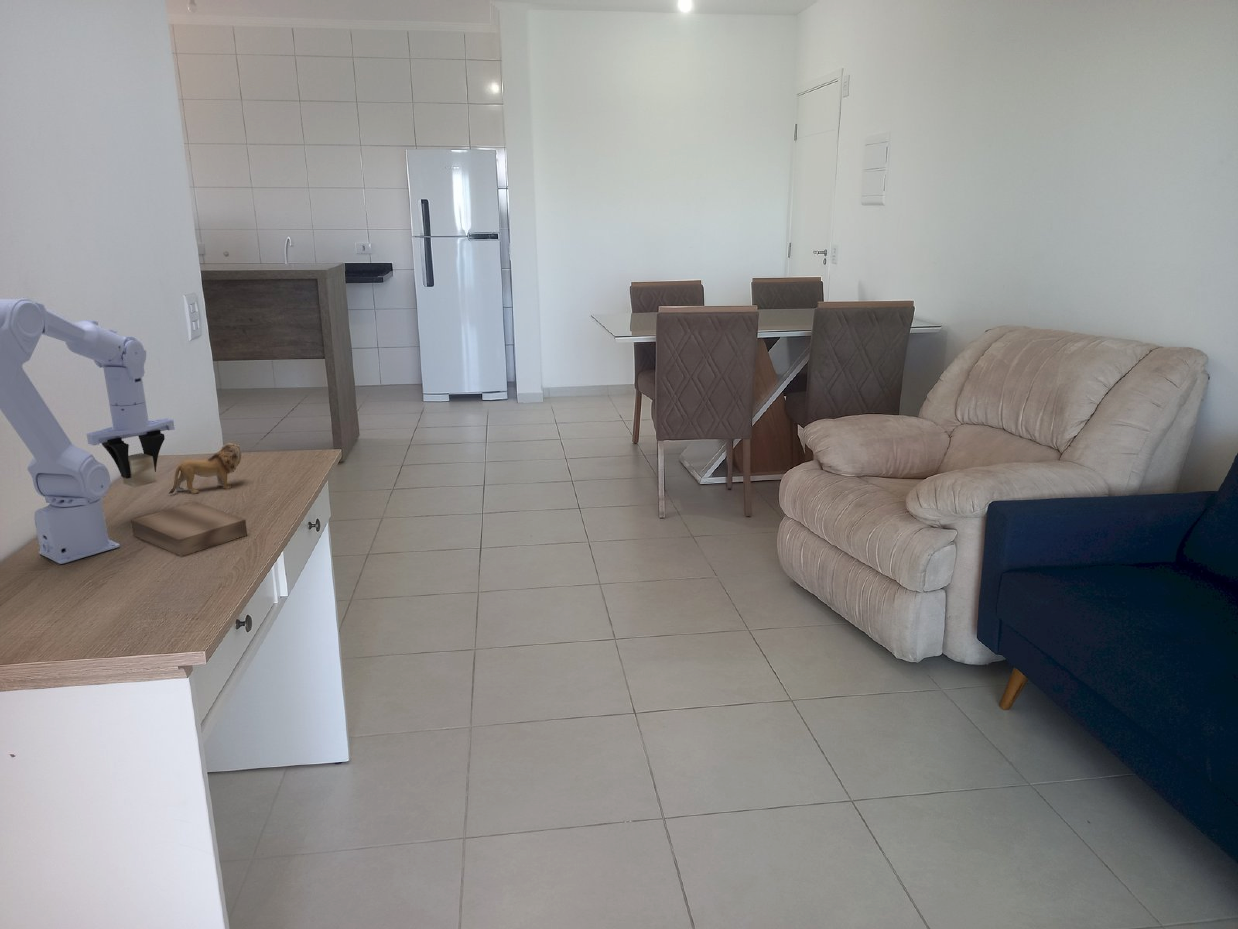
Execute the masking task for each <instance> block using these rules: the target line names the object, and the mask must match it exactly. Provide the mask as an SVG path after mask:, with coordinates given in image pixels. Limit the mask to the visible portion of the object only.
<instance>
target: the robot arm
mask: <svg viewBox="0 0 1238 929" xmlns="http://www.w3.org/2000/svg"><path fill="white" fill-rule="evenodd" d="M42 335H44V336H46V337H49V338H52V339H55V340H59V341H62V342H65V344H66V347H67V348H68V350H69V351H70V352H72V353H74V354H77V355H79V356H82V357H84V358H87V359H89V360H92V361H93V362H94V364H95V365H96V366H97V367H99V368H100V369H101V368H103V369H102V370H103V374H104V380H105V384H106V385H105V386H106V392H107V397H108V404H109V411H110V416H111V424H112V426H111V427H105V428H102V429H100V430H96V431H92V432H87V433H86V438H87V444H89V445H91V446H97V445H100V444H101V446H102V447H103V448H104V449H105V450H106V451H107V453H108V454H109V455H110V457H111V458H112V459H113V461H114V463H115V465H116V467H117V468H118V471H119V473H120V476H121V478H122V479H123V478H126V479H128V478H131V472H130V466H129V460H128V456H129V448H130V447H129V446H130V444H129V443H126V442H125V441H124V439H128V438H134V437H138V439H139V443H140V446H141V448H142V451H143V452H142V453H143V454H147V455H150V456H153V462H154V469H155V473H156V472H157V466H158V458H159V455H160V454H159V453H160V450H161V448H162V445H163V444H164V441H165V433H162V432H163V431H173V430H176V429H175V422H174V419H171V418H168V417H167V418H163V419H153V420H149V416H148V408H147V401H146V396H145V390H144V384H143V383H144V382H143V377H145V364H146V360H147V350H146V349H145V348H144V345H143V344H142V342H140V341H139V340H138V339H137V338H135V337H133V336H122V335H120V334H118V331H116V330H114V329H107V328H104V327H102V326H101V325H99V322H98V321H96V320H94V319H84V320H80V321H76V322H73V321H72V320H69V319H68V318H66V317H63V316H62V315H60V314H59V313H55V312H54V311H52V310H50V309H48V308H46V307H45V304H43V303H41V302H38V301H37V302H36V301H34V300H32V299H30V298H24V297H23V298H17V299H16V298H15V299H13V298H0V411H1V413H2V414H3V416H4V417H5V418H6V419H7V421H8V423H9V424H10V425H11V427H12V429H13V430H14V431H15V432H16V433H17V435H18V437H19V438H20V439H21V441H22V442H23V443H24V445H25V446H26V448H27V449H28V451H29V452H30V453H31V455H32V456H33V457H32V459H31V460H30V462H29V464H28V466H27V468H26V469H27V471H28V473H29V474H30V476H31V478H32V482H33V487H34V490H35V492H37V494H38V495H39V496H41V497H44V499H45V503H46V504H48V505H46V506H45V507H42V508H39V509H36V511H35V512H34V516H33V517H34V526H35V529H36V533H37V540H38V543H39V549H40V550H39V554H40V555H42V556H44V557H46V558H48V559H49V560H52V561H53V562H55V563H56V564H60V565H61V564H62V565H63V564H67V563H69V562H73V561H77V560H80V559H83V558H87V557H90V556H93V555H96V554H100V553H103V552H106V551H110V550H113V549H116V548H120V546H121V544H120V543H119V542H115V541H113V540H111V539H109V535H108V528H107V524H106V518H105V512H104V507H103V501H102V500H103V498H105V497H106V494H107V493H108V490H109V488H110V485H111V475H110V472H109V469H108V468H107V466H106V465H105V464H104V463H102V462H100V461H98V460H97V459H96V457H94V455H93V454H92V453H90V452H89V451H87V450H85V449H83V448H81V447H79V446H77V445H75V444H73V443H72V441H71V440H70V438H69V436H68V435H67V434H66V432H65V430H64V429H63V428H62V425H61V424H60V423H59V422H58V420H57V419H56V417H55V415H54V414H53V413H52V411H51V410H50V408H49V406H48V405H47V403H46V402H45V400H44V399H43V397H42V396H41V394H40V393H39V391H38V390H37V387H36V386H35V385H34V384H33V382H32V381H31V379H30V378H29V376H28V375H27V372H25V370H24V368H23V365H24V364H25V363H27V362H29V361H30V359H31V358H32V355H33V354H34V351H35V349H36V347H37V344H38V343H39V341H40V339H41V336H42Z"/></svg>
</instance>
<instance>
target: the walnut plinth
mask: <svg viewBox="0 0 1238 929" xmlns="http://www.w3.org/2000/svg"><path fill="white" fill-rule="evenodd" d="M130 524H131V529H132V535H133V536H134V537H136V538H138V539H141V540H142V541H145V542H147V543H149V544H151V545H154V546H156V547H159V548H160V549H161V548H162V549H163V550H166V551H168V552H170V553H173V554H175V555H177V556H180V557H184V556H188V555H191V554H193V553H196V551H197V552H200V551H202V550H206V549H208V548H211V547H215V546H218V545H221V544H225V543H228V542H230V541H234V540H237V539H239V538H238V537H240V538H243V537H246V536H248V530H247V522H246V519H245V518H242V517H239V516H236V515H233V514H231V513H229V512H226V511H223V510H220V509H217V508H214V507H212V506H208V505H206V504H204V503H201V502H198V501H194V502H192V503H191V502H190V503H188V504H183V505H180V506H176V507H172V508H168V509H165V510H161V511H158V512H154V513H151V514H147V515H144V516H143V515H142V516H139V517H137V518H132V519H130ZM236 538H237V539H236Z"/></svg>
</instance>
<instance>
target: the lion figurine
mask: <svg viewBox="0 0 1238 929" xmlns="http://www.w3.org/2000/svg"><path fill="white" fill-rule="evenodd" d="M241 460H242V452H241V449H240V445H239V444H236V443H232V442H228V443H226V444H224V445H223V446H222V447H221V448H220V450H219V451H217V452H215V453H214V454H213V455H212V456H211V457H210V458H208V459H201V460H195V459H185V460H183V461H182V462H180V463H179V464H178V465H177V467H176V469H175V472H174V477H173V478H174V479H173V486H172V488H171V489H170V491H169V492H168V494H169V495H170V494H173V493H175V491H176V492H183V491H184V488H183V487H181V484H183V483H184V482H185V481H186V488H187V489H188V490H189V491H190V493H191V494H194V495H196V494H199V492H200V491H199V489H195V488H194V487H193V483H194V479H195V475H197V476H199V477H203V478H211V477H215V476H216V478H217V486H219V487H223V489H225V490H229V489H231V485H228V475H229V474H230V473H234V472H235V471H236V469H237V467H238V466H239V464H240V463H241Z"/></svg>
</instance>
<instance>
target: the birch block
mask: <svg viewBox="0 0 1238 929" xmlns="http://www.w3.org/2000/svg"><path fill="white" fill-rule="evenodd" d="M128 460H129V466H130V472H131V478H128V479H126V478H123V477H122V482H123V484H125V485H127V486H130V487H133V488H137V487H142V486H145V485H147V486H148V485H149V484H155V483H157V477H156V476H157V475H156V472H155V469H154V462H153V456H150V455H147V454H144V453H143V452H139V453H135V454H130V455H129V454H128Z"/></svg>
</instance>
